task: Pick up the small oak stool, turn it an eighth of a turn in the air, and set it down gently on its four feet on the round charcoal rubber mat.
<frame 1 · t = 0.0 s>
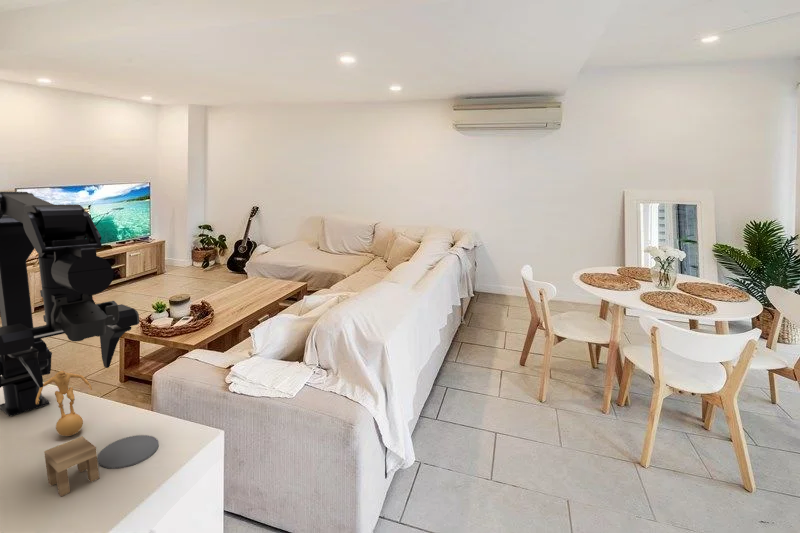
hand: (75, 376, 70), 15 cm above the counter, tool pointing down, fingers open, 9 cm apart
oak stool: (74, 480, 67), on the counter
charcoal mat: (129, 451, 74), on the counter
figurine: (69, 433, 79), on the counter
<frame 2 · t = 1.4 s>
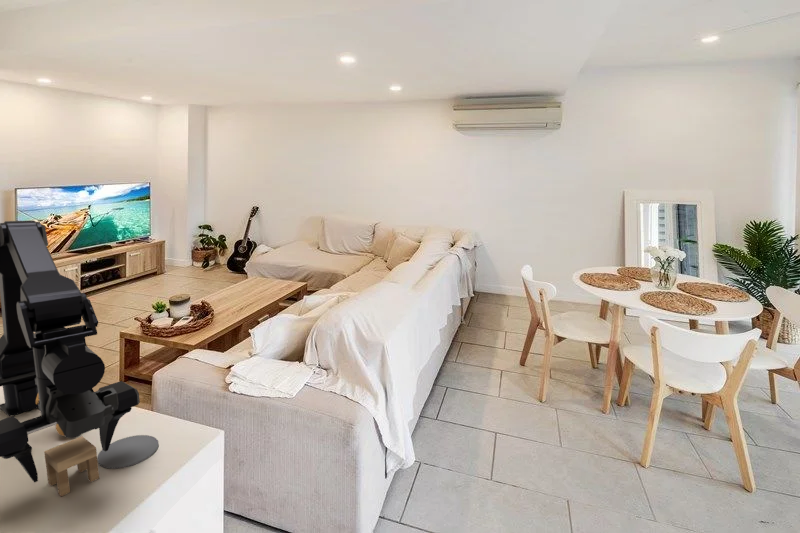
hand: (72, 464, 66), 3 cm above the counter, tool pointing down, fingers open, 9 cm apart
nothing on the counter moved.
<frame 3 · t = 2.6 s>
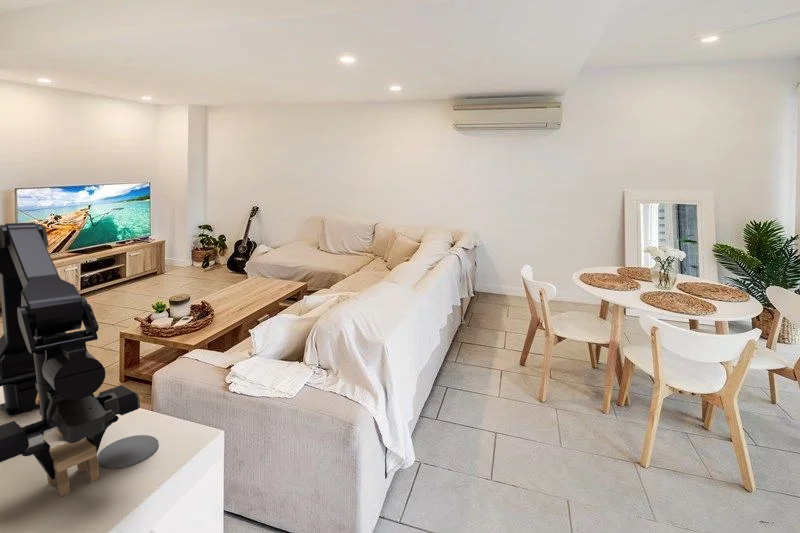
hand: (72, 469, 66), 2 cm above the counter, tool pointing down, fingers closed on oak stool, 5 cm apart
oak stool: (74, 480, 67), on the counter, touching gripper
everything else where it was.
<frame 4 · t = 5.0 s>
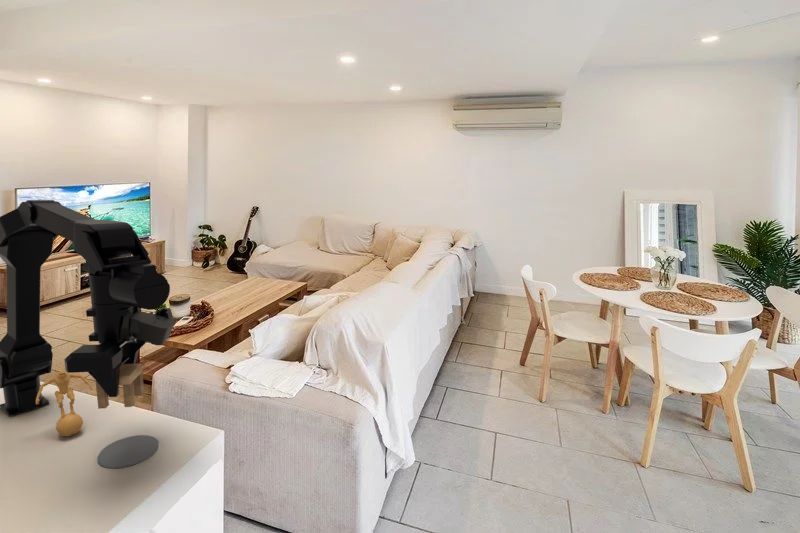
hand: (120, 389, 72), 12 cm above the counter, tool pointing down, fingers closed on oak stool, 5 cm apart
oak stool: (122, 400, 72), point 10 cm above the counter, touching gripper
everything else where it was.
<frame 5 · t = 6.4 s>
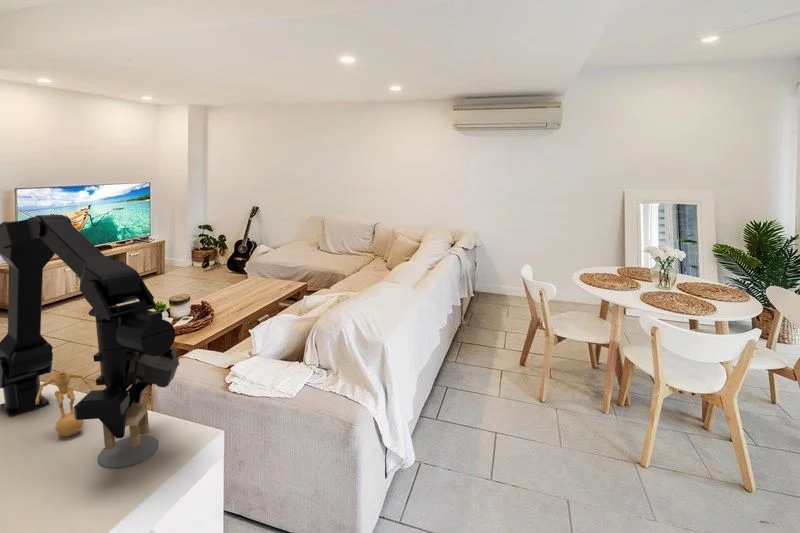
hand: (126, 429, 73), 4 cm above the counter, tool pointing down, fingers closed on oak stool, 5 cm apart
oak stool: (128, 439, 74), point 2 cm above the counter, touching gripper
everything else where it was.
when the fingers open (4 cm above the counter, at t = 7.4 s): oak stool drops 1 cm, resting on charcoal mat.
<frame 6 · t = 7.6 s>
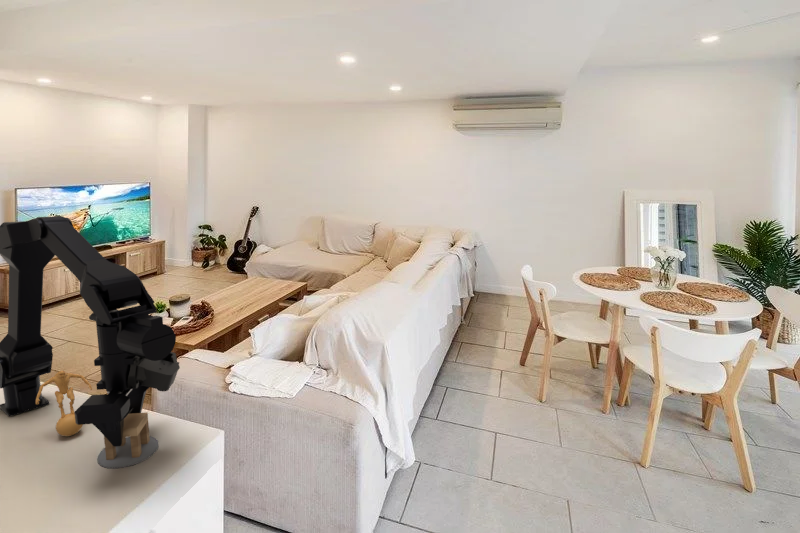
hand: (127, 433, 74), 4 cm above the counter, tool pointing down, fingers open, 7 cm apart
oak stool: (128, 449, 74), resting on charcoal mat
everything else where it was.
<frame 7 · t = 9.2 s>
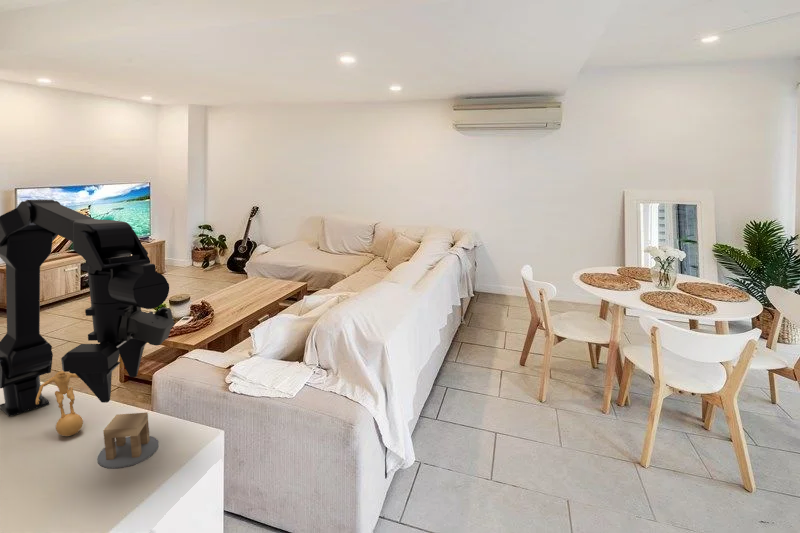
hand: (120, 388, 72), 12 cm above the counter, tool pointing down, fingers open, 9 cm apart
nothing on the counter moved.
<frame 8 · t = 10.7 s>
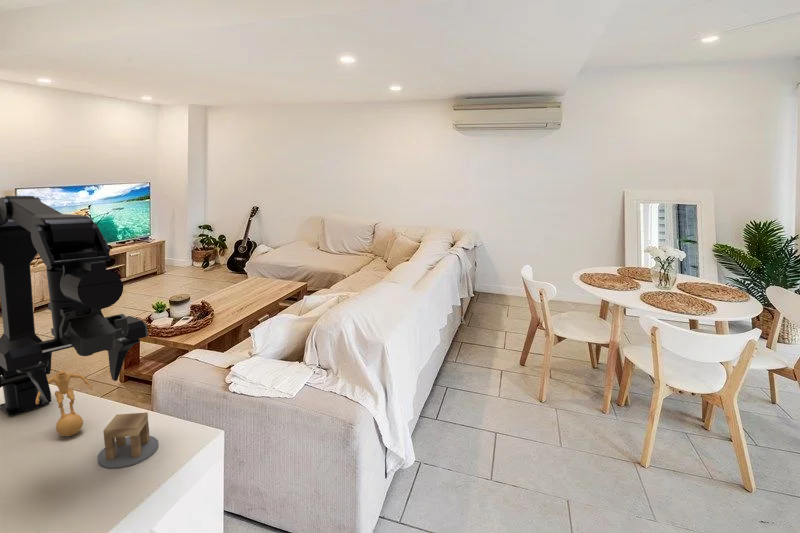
hand: (83, 390, 69), 13 cm above the counter, tool pointing down, fingers open, 9 cm apart
nothing on the counter moved.
at the end: oak stool 0.0 cm off-centre on the charcoal mat, point 0.4 cm above the charcoal mat's base; oak stool tilted 0°; the gripper is holding nothing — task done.
